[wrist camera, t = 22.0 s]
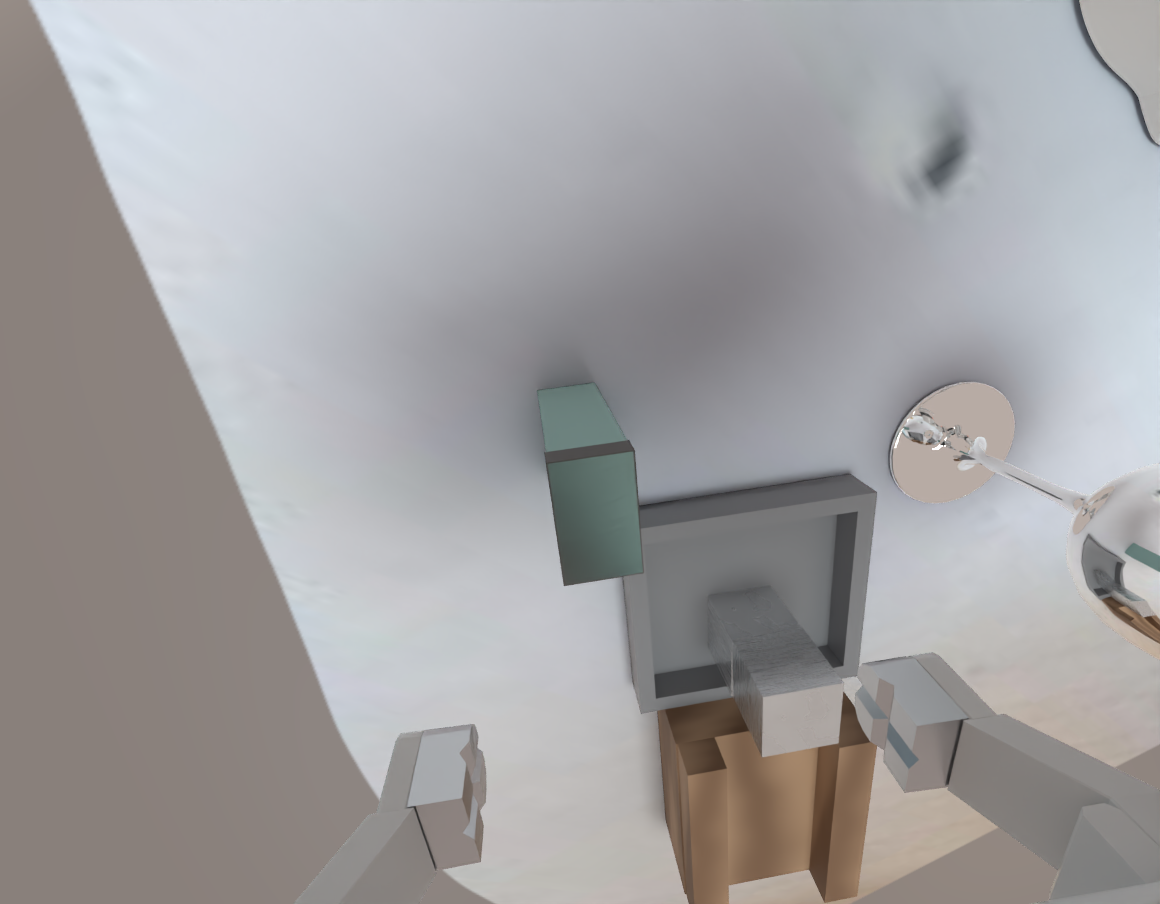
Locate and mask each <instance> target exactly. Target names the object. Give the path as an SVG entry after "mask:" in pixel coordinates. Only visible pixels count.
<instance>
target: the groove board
mask: <svg viewBox="0 0 1160 904" xmlns="http://www.w3.org/2000/svg"><path fill="white" fill-rule="evenodd" d="M658 723H659V737H660V750H661V763H662V776H663V789H664V803H665V816H666V823H667V827H668V830H669V834H670V838H671V842H672V846H673V850H674V854H675V858H676V861H677V865H678V869H679V873H680V877H681V881H682V885H683V889H684V892H685V894H687V898H688V902H689V904H729V890H728V885H733V884H738V883H743V882H748V881H753V880H758V879H763V878H768V877H773V876H778V875H784V874H789V873H794V872H799V871H804V870H810V872H811V875H812V877H813V879H814V881H815V883H816V885H817V887H818V890H819V892H820V894H821V896H822V898H823V900H824V902H825V903H826V902H831V901H836V900H841V899H846V898H851V897H856V896H857V893H858V885H859V878H860V870H861V863H862V855H863V848H864V840H865V833H866V825H867V818H868V810H869V803H870V795H871V787H872V780H873V772H874V765H875V757H876V750H877V745H875V744H873V743H872V742H870V741H869V739H868V737H867V736H866V734H865V733H864V731H863V729H862V727H861V725H860V723H859V721H858V718H857V714H856V709H855V707H854V705H853V704H852V702H851V701H850V700H849V698H848V697H847V696H846V694H845V693H844V692H843V700H842V710H841V721H840V732H839V743H838V744H832V745H827V746H821V747H816V748H811V749H805V750H800V751H794V752H789V753H783V754H778V755H772V756H767V757H761V754H760V752H759V750H758V748H757V746H756V744H755V742H754V740H753V738H752V736H751V733H750V731H749V729H748V727H747V725H746V723H745V721H744V719H743V717H742V715H741V712H740V710H739V708H738V706H737V704H736V702H735V700H734V698H727V699H721V700H716V701H710V702H704V703H699V704H693V705H687V706H681V707H676V708H670V709H664V710H659V711H658Z"/></svg>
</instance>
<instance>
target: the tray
mask: <svg viewBox="0 0 1160 904" xmlns="http://www.w3.org/2000/svg"><path fill="white" fill-rule="evenodd" d="M876 498H877V492H876V491H874V490H873V489H871V488H870V487H869V486H867V485H866V484H864V483H863V482H861V481H860V480H858V479H857V478H855V477H854V476H853V475H851V474H848V475H842V476H835V477H829V478H822V479H815V480H809V481H802V482H795V483H789V484H782V485H776V486H769V487H762V488H756V489H749V490H742V491H736V492H729V493H723V494H716V495H709V496H703V497H696V498H690V499H683V500H676V501H670V502H663V503H656V504H650V505H643V506H639V513H640V526H641V538H642V551H643V564H644V573H643V574H636V575H630V576H624V577H623V585H624V595H625V606H626V616H627V626H628V637H629V647H630V658H631V668H632V678H633V685H634V689H635V693H636V696H637V700H638V704H639V708H640V712H641V713H647V712H653V711H659V710H664V709H670V708H676V707H681V706H687V705H693V704H699V703H704V702H710V701H716V700H721V699H727V698H733V696H731V694H730V692H729V690H728V688H727V686H726V684H725V682H724V679H723V677H722V675H721V673H720V671H719V669H718V667H717V665H716V663H715V660H714V658H713V656H712V654H711V652H710V650H709V648H708V596H709V595H715V594H722V593H728V592H735V591H741V590H748V589H754V588H761V587H767V586H771V587H772V588H773V590H774V591H775V593H776V594H777V595H778V597H779V598H780V599H781V601H782V602H783V603H784V605H785V606H786V607H787V609H788V610H789V611H790V613H791V614H792V615H793V617H794V618H795V620H796V621H797V622H798V624H799V625H800V626H801V628H803V629H804V630H805V631H806V633H807V634H808V635H809V637H810V638H811V639H812V641H813V642H814V643H815V645H816V646H817V647H818V649H819V650H820V651H821V653H822V654H823V655H824V657H825V658H826V660H827V661H828V662H829V664H830V665H831V666H832V668H833V669H834V670H835V672H836V673H837V674H838V676H839V677H840V678H841V679H842V678H847V677H853V676H858V667H859V657H860V648H861V639H862V629H863V620H864V611H865V601H866V592H867V582H868V573H869V564H870V554H871V545H872V536H873V526H874V517H875V507H876Z"/></svg>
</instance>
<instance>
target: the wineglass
mask: <svg viewBox="0 0 1160 904" xmlns="http://www.w3.org/2000/svg"><path fill="white" fill-rule="evenodd" d="M1014 431H1015V419H1014V412H1013V410H1012V407H1011V405H1010V402H1009V401H1008V400H1007V398H1006V397H1005V396H1004V395H1003V394H1002V393H1001V392H1000V391H998V390H997V389H996V388H994V387H992V386H990V385H987V384H985V383H979V382H959V383H955V384H952V385H948V386H945V387H943V388H941V389H939V390H937V391H934V392H933V393H931V394H930V395H928V396H927V397H925V398H924V399H922V400H921V401H920V402H919V403H918V404H917V405H916V406H915V407H914V408H913V409H912V410H911V411H910V412H909V413H908V415H907V416H906V417H905V418H904V420H903V421H902V423H901V425H900V426H899V428H898V430H897V431H896V434H895V437H894V439H893V442H892V446H891V451H890V469H891V473H892V477H893V479H894V481H895V483H896V485H897V486H898V487H899V489H900V490H901V491H902V492H903V493H904V494H906V495H907V496H909V497H910V498H912V499H914V500H917V501H920V502H924V503H933V504H935V503H946V502H950V501H953V500H957V499H960V498H962V497H964V496H966V495H969V494H970V493H972V492H973V491H975V490H977V489H978V488H980V487H981V486H982V485H983V484H984V483H986V482H987V481H988V480H989V479H990V478H991V477H992V476H993V475H994V474H995V473H997V474H999V475H1001V476H1004V477H1006V478H1008V479H1010V480H1012V481H1014V482H1016V483H1018V484H1020V485H1022V486H1024V487H1027V488H1029V489H1031V490H1033V491H1035V492H1037V493H1039V494H1041V495H1043V496H1045V497H1046V498H1048V499H1050V500H1052V501H1054V502H1056V503H1057V504H1059V505H1060V506H1062V507H1063V508H1065V509H1066V510H1068V511H1070V512H1071V513H1072V514H1073V515H1074V516H1073V518H1072V520H1071V522H1070V525H1069V528H1068V534H1067V545H1066V561H1067V566H1068V569H1069V571H1070V574H1071V576H1072V579H1073V581H1074V584H1075V586H1076V588H1077V591H1078V593H1079V595H1080V597H1081V598H1082V599H1083V600H1084V601H1085V602H1086V604H1087V605H1088V606H1089V607H1090V608H1091V610H1092V611H1093V612H1094V613H1095V614H1096V615H1097V617H1098V618H1099V619H1100V620H1101V621H1102V622H1103V623H1104V624H1105V625H1106V626H1108V627H1109V628H1110V629H1112V630H1113V631H1114V632H1116V633H1117V634H1118V635H1120V636H1121V637H1122V638H1124V639H1125V640H1126V641H1128V642H1129V643H1131V644H1133V645H1134V646H1136V647H1137V648H1139V649H1141V650H1142V651H1144V652H1146V653H1148V654H1149V655H1151V656H1153V657H1154V658H1156V659H1158V660H1160V463H1156V464H1152V465H1148V466H1144V467H1140V468H1138V469H1136V470H1133V471H1131V472H1129V473H1127V474H1124V475H1122V476H1120V477H1118V478H1116V479H1114V480H1111V481H1109V482H1107V483H1106V484H1104V485H1102V486H1101V487H1099V488H1098V489H1096V490H1095V491H1094V492H1093V493H1091V494H1090V495H1089V494H1084V493H1080V492H1077V491H1074V490H1070V489H1067V488H1064V487H1062V486H1059V485H1057V484H1054V483H1052V482H1049V481H1047V480H1044V479H1042V478H1040V477H1038V476H1035V475H1033V474H1031V473H1029V472H1027V471H1024V470H1022V469H1020V468H1018V467H1015V466H1013V465H1011V464H1009V463H1006V462H1004V460H1005V459H1006V457H1007V454H1008V452H1009V450H1010V448H1011V445H1012V441H1013V438H1014Z"/></svg>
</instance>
